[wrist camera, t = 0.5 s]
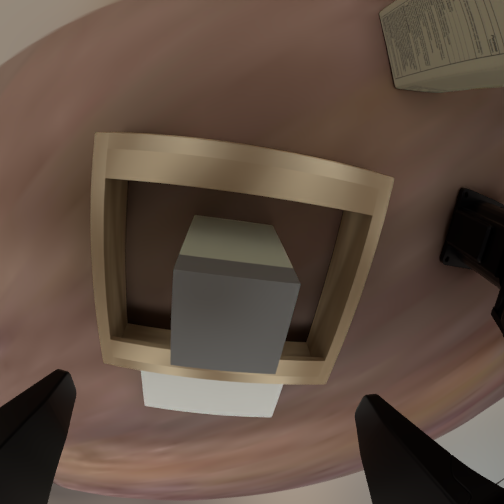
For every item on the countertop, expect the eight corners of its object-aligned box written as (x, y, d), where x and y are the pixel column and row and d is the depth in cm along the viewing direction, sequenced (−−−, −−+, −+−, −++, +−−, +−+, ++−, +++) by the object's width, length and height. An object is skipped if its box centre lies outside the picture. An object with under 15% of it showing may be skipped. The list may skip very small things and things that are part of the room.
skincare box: (439, 94, 16) (577, 96, 5) (392, 89, 16) (541, 75, 5) (424, 17, 14) (543, -22, 3) (376, 7, 14) (492, -60, 3)
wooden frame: (364, 168, 18) (394, 178, 15) (312, 350, 23) (325, 384, 20) (121, 131, 16) (95, 132, 13) (118, 329, 21) (103, 363, 18)
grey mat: (286, 367, 24) (287, 371, 23) (270, 412, 26) (271, 417, 26) (141, 352, 22) (139, 357, 22) (145, 401, 25) (144, 405, 24)
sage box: (272, 225, 19) (300, 284, 12) (259, 293, 21) (275, 374, 14) (194, 214, 19) (173, 269, 11) (187, 285, 20) (170, 364, 13)
